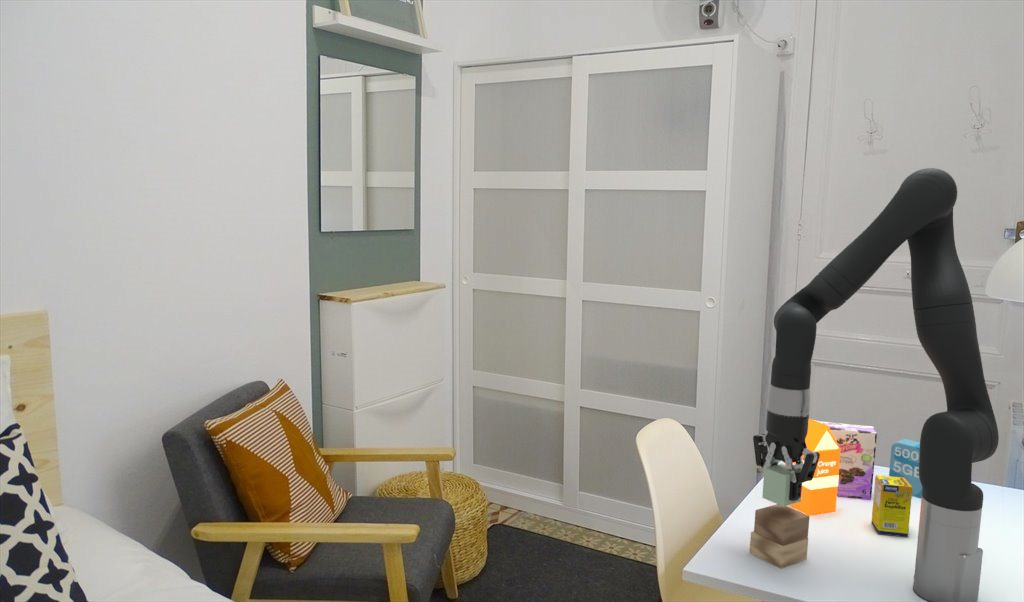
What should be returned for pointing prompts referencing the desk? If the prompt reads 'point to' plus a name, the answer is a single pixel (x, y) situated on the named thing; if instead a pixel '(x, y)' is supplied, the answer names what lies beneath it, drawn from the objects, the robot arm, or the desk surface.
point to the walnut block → (781, 524)
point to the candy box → (855, 458)
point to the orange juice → (821, 472)
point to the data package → (906, 463)
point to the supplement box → (891, 505)
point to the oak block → (778, 551)
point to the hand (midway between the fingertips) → (781, 494)
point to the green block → (777, 485)
